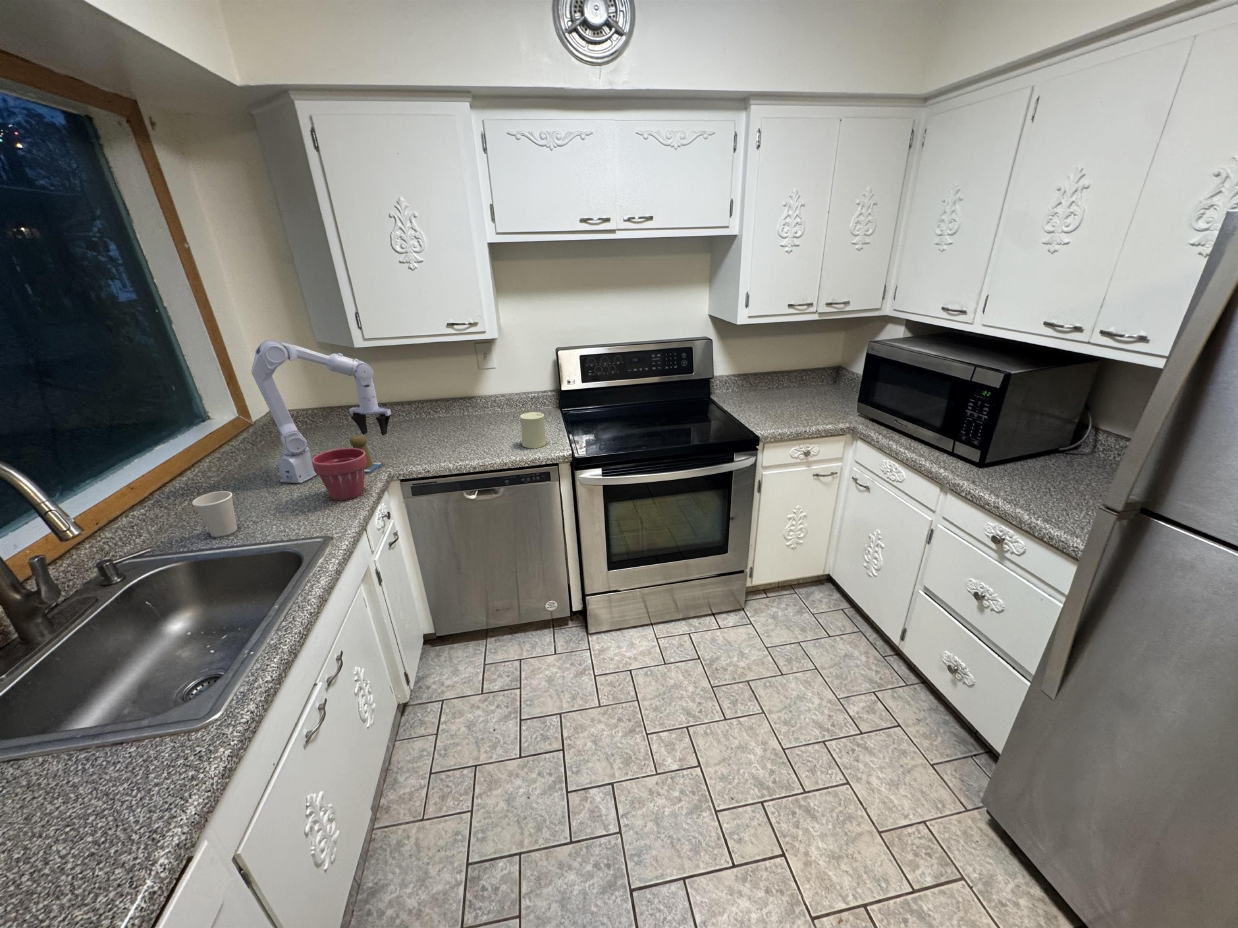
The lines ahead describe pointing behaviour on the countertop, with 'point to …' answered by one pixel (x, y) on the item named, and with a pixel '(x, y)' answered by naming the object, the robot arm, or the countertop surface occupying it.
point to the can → (533, 430)
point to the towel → (373, 467)
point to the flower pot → (341, 472)
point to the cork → (361, 447)
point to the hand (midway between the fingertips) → (374, 434)
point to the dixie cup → (217, 512)
